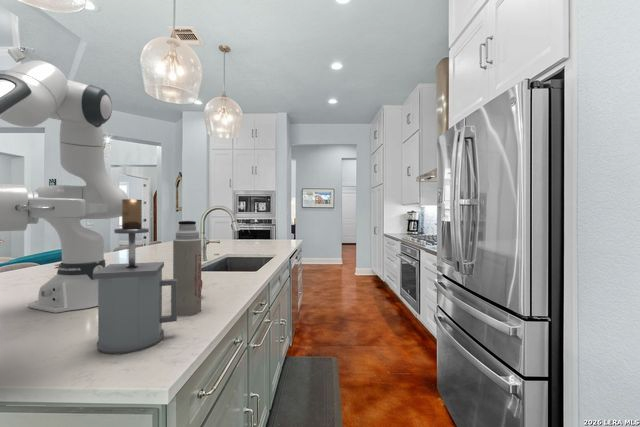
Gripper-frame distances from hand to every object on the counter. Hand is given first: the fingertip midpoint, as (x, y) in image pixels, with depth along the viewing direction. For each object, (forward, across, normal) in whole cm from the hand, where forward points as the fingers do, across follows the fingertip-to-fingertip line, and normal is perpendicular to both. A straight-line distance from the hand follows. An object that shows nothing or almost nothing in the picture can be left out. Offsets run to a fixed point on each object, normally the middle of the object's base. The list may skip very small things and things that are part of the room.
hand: (100, 208), depth 69 cm
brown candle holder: (+6, 0, +17) cm, 18 cm away
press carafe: (+8, -1, +32) cm, 33 cm away
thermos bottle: (+25, +11, +32) cm, 42 cm away
